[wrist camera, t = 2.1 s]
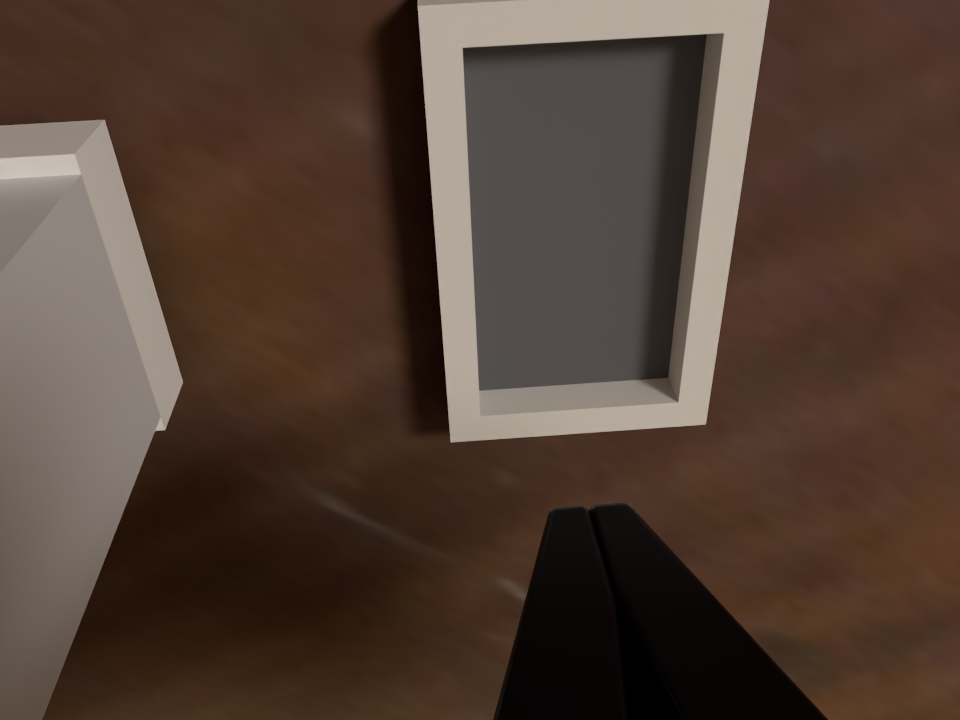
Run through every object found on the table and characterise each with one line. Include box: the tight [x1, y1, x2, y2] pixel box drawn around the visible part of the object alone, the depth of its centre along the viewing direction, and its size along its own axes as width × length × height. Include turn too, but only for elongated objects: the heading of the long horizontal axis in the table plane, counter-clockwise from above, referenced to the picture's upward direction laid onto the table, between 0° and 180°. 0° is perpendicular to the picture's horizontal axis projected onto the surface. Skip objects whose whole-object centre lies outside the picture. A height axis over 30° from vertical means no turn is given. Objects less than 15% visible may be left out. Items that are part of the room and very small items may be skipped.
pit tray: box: [417, 0, 769, 442], centre depth 15 cm, size 8×5×1 cm, turn 2°
